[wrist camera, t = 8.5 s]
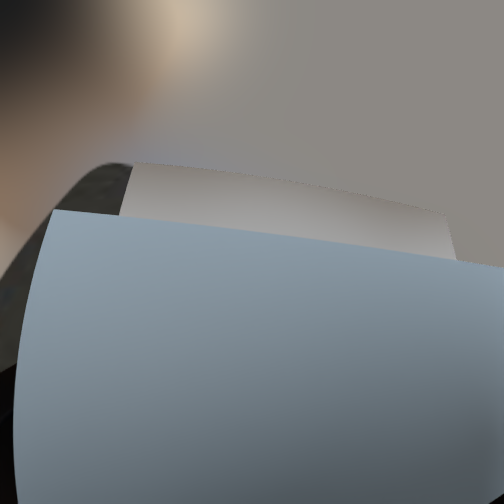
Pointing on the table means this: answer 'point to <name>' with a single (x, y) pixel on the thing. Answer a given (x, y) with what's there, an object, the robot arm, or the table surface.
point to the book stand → (282, 209)
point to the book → (254, 370)
